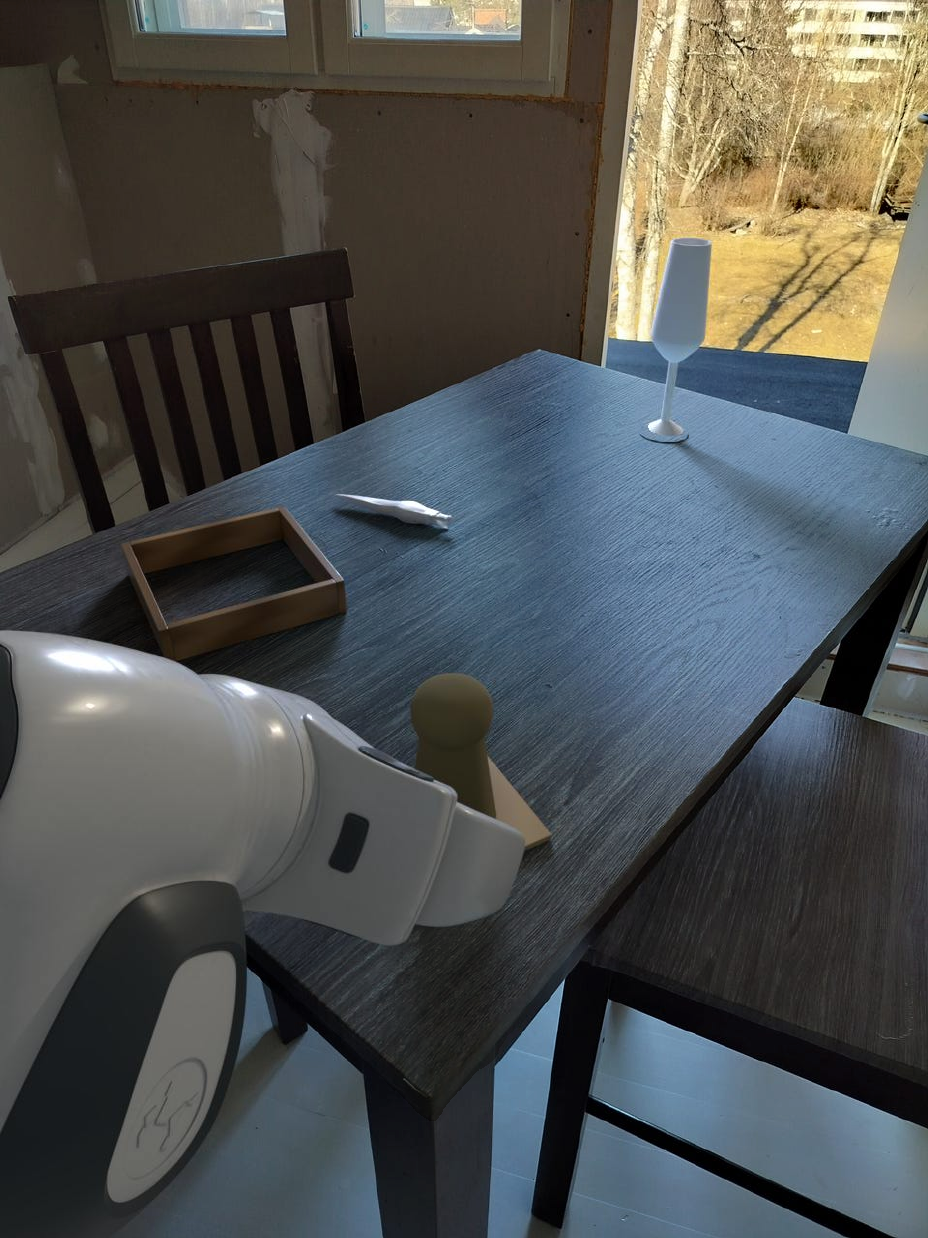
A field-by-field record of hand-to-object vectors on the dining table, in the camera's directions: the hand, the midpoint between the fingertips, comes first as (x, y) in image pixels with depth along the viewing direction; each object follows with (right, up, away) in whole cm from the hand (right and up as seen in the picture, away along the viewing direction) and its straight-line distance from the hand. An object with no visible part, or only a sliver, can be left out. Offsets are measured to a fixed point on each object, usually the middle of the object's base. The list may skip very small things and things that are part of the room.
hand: (382, 799), depth 48 cm
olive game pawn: (+4, -3, +10) cm, 11 cm away
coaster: (+4, -3, +10) cm, 12 cm away
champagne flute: (+32, +35, +66) cm, 81 cm away
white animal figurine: (-3, +22, +47) cm, 52 cm away
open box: (-17, +13, +34) cm, 40 cm away
